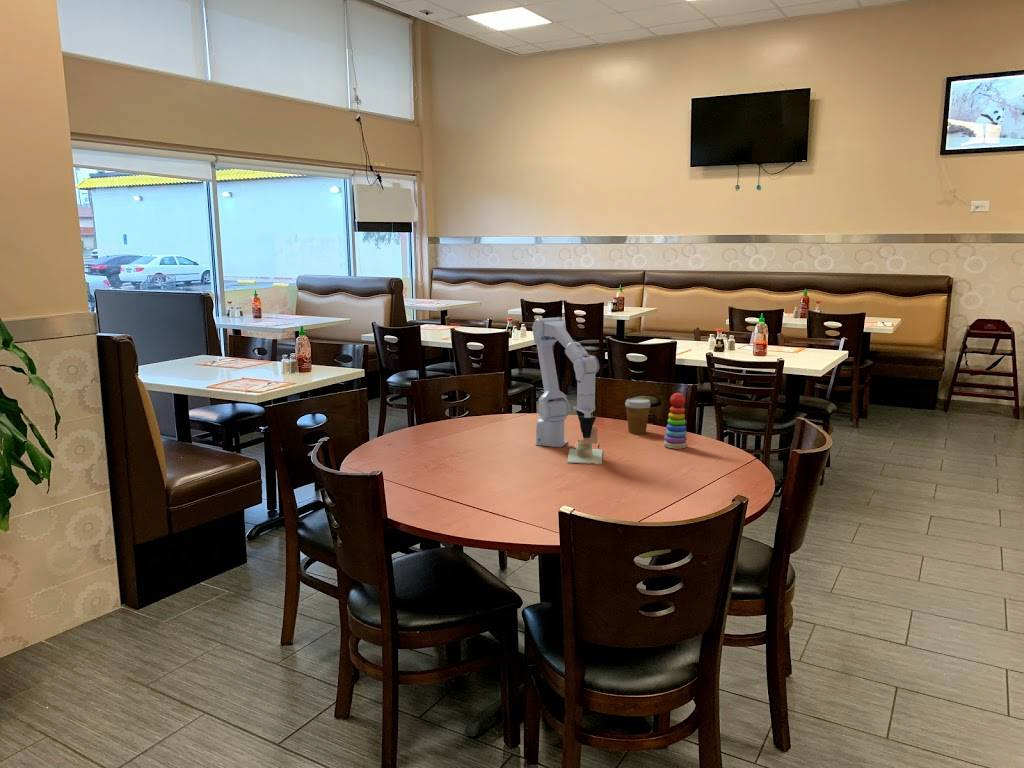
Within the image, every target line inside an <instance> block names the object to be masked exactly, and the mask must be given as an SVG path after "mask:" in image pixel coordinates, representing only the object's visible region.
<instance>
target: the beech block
mask: <svg viewBox="0 0 1024 768" xmlns="http://www.w3.org/2000/svg"><path fill="white" fill-rule="evenodd" d="M577 443H578V444H577V454H578V457H592V444H583V439H581V440H579V439H578V440H577Z"/></svg>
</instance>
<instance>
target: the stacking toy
mask: <svg viewBox="0 0 1024 768" xmlns="http://www.w3.org/2000/svg"><path fill="white" fill-rule="evenodd" d="M669 403H670V404H671V406H670V408H669V413H668V419H667V425H666V428H667V429H666V430H665V435H664V436H663V437H664V441H663V446H664V447H665V448H667V447H668V449H672V448H673V450H682V448H683V449H686V448H687V446H688V442H687V438H688V437H687V433H688V432H687V430H686V429H687V426H686V419H685V418H686V415H685V412H686V409H685V407H683V406H684V405H685V404H686V398H685V396H684V394H683V393H680V392H675V393H673V394H671V396H670V399H669Z"/></svg>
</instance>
